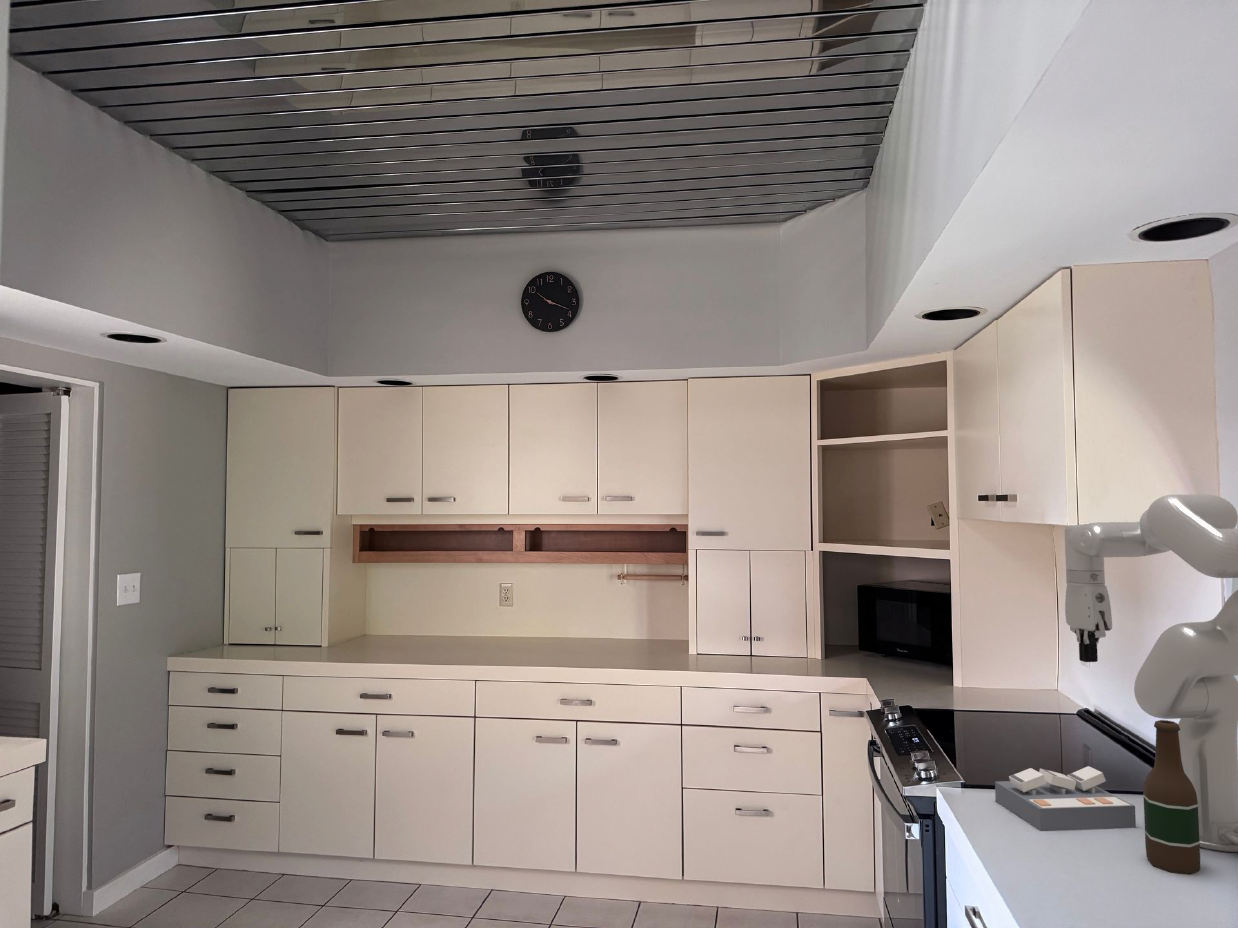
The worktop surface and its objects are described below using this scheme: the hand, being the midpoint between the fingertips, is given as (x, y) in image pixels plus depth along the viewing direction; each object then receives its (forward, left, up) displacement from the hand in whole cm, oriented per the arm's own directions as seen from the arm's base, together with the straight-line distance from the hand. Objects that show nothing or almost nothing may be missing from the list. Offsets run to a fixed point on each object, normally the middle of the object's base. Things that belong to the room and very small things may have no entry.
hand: (1088, 661), depth 182 cm
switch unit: (-16, +17, -27) cm, 36 cm away
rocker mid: (-14, +17, -21) cm, 30 cm away
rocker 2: (-14, +11, -21) cm, 27 cm away
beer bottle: (-40, +13, -27) cm, 50 cm away
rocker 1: (-14, +23, -21) cm, 34 cm away
